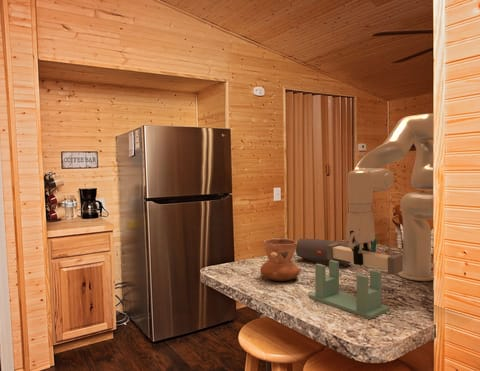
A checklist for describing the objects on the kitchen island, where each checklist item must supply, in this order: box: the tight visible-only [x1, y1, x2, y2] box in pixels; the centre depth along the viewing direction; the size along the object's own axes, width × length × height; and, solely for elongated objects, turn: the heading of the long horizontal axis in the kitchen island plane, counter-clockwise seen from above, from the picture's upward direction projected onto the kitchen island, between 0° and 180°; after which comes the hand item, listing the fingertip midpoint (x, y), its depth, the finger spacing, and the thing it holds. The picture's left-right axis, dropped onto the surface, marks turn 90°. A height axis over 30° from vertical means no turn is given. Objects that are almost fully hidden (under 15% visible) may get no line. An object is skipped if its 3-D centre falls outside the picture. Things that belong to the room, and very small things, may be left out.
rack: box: [308, 260, 391, 320], centre depth 112 cm, size 10×22×11 cm, turn 38°
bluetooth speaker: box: [295, 238, 352, 266], centre depth 159 cm, size 23×9×10 cm, turn 53°
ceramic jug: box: [260, 237, 300, 282], centre depth 138 cm, size 18×14×14 cm
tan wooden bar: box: [327, 243, 403, 276], centre depth 121 cm, size 5×25×5 cm, turn 38°
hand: (362, 262), depth 121 cm, fingers closed on tan wooden bar, 3 cm apart
